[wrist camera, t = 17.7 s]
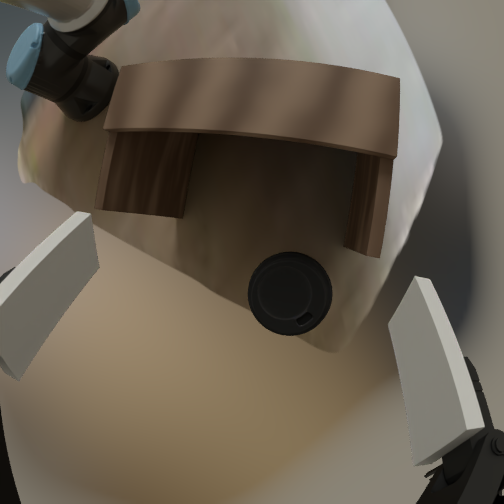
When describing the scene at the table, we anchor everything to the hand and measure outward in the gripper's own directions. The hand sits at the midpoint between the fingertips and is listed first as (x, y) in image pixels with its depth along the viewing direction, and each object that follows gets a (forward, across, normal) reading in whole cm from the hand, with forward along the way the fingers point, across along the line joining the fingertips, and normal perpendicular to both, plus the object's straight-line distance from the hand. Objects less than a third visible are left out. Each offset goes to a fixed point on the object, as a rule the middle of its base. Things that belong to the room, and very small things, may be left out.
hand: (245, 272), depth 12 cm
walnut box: (+36, 0, -10) cm, 37 cm away
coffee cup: (+28, +7, -21) cm, 36 cm away
